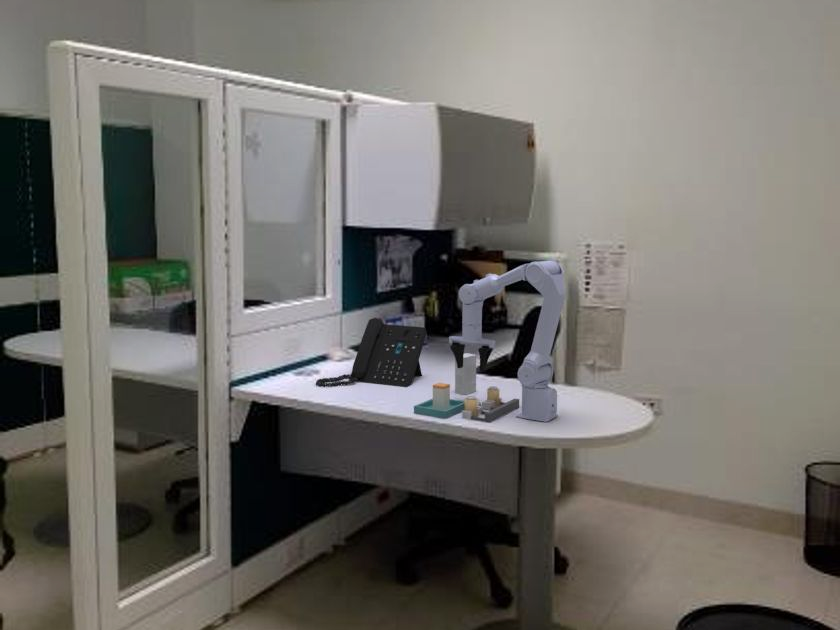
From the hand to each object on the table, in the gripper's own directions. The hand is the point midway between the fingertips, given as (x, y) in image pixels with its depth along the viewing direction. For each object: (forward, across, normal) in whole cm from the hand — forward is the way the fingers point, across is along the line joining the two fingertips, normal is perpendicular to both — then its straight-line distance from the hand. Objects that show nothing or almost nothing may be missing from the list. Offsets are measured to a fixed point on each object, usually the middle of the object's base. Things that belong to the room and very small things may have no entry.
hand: (471, 369), depth 237 cm
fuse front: (+10, -7, +13) cm, 18 cm away
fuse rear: (+10, -7, -1) cm, 13 cm away
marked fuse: (+10, +3, +12) cm, 16 cm away
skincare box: (+11, +8, -11) cm, 17 cm away
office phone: (+11, +42, -7) cm, 44 cm away
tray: (+10, +3, +12) cm, 17 cm away
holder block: (+10, -10, +6) cm, 16 cm away
